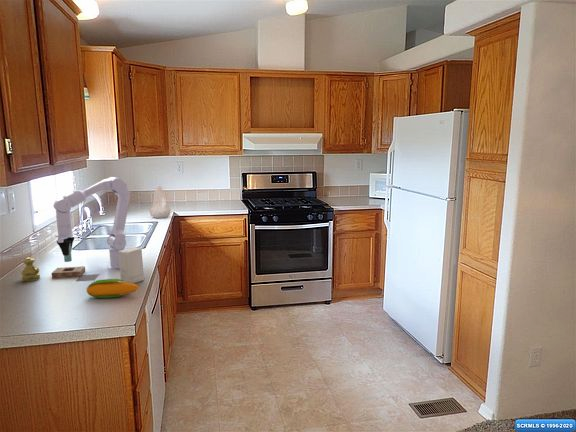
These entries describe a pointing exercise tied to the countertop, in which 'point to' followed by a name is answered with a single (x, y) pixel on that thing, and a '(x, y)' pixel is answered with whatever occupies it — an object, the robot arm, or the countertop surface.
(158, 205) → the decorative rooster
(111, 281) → the corn
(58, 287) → the countertop surface
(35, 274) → the olive yellow figurine
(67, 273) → the hole block
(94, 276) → the mat
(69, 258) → the peg
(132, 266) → the skincare box
